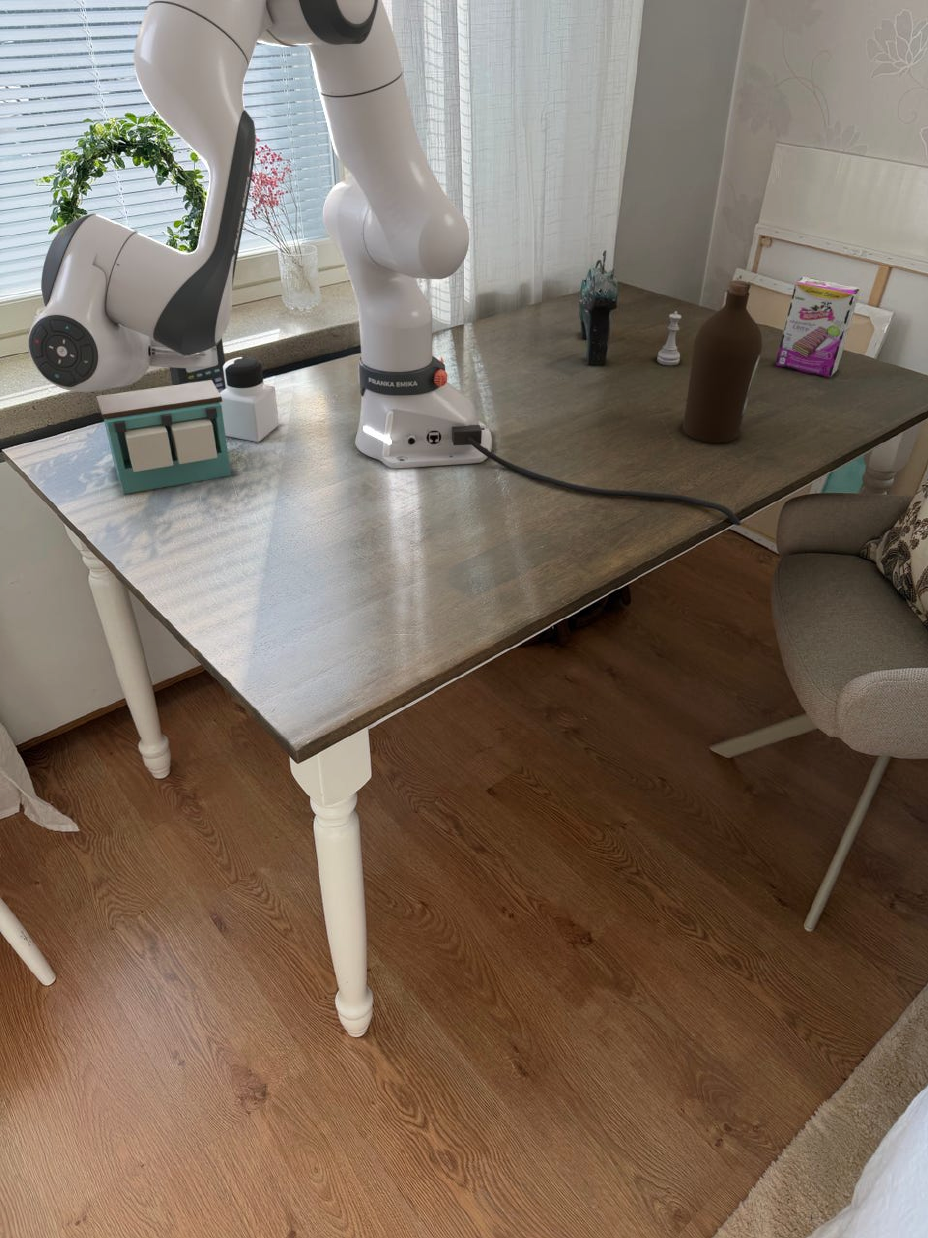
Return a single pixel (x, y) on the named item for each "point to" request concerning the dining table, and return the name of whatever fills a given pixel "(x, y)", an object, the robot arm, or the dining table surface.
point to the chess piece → (670, 343)
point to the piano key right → (193, 440)
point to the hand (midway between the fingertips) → (142, 346)
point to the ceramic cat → (597, 311)
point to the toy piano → (165, 410)
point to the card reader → (203, 371)
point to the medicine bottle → (247, 401)
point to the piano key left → (148, 447)
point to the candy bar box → (817, 326)
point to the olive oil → (723, 370)
